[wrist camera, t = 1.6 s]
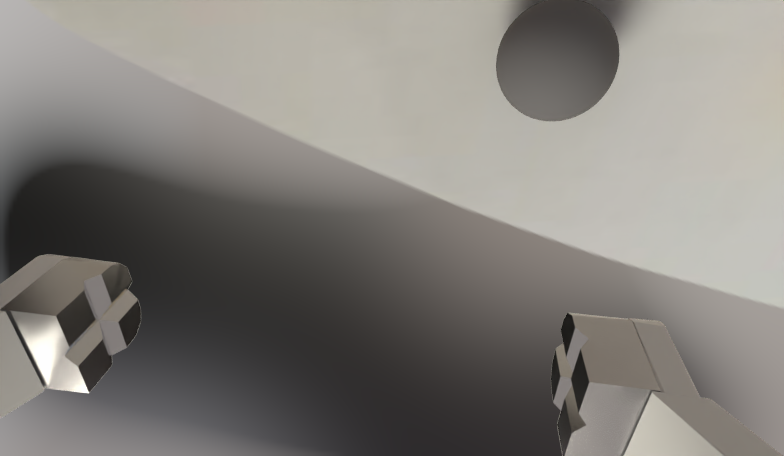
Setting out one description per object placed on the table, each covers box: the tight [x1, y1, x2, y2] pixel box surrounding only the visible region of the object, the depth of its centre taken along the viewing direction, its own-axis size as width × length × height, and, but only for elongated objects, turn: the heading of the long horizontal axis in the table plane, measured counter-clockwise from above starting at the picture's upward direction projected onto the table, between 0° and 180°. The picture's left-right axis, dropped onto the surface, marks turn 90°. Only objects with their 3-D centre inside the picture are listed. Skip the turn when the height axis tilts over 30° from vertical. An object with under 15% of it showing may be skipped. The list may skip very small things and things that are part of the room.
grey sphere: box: [496, 0, 619, 121], centre depth 24 cm, size 6×6×6 cm
